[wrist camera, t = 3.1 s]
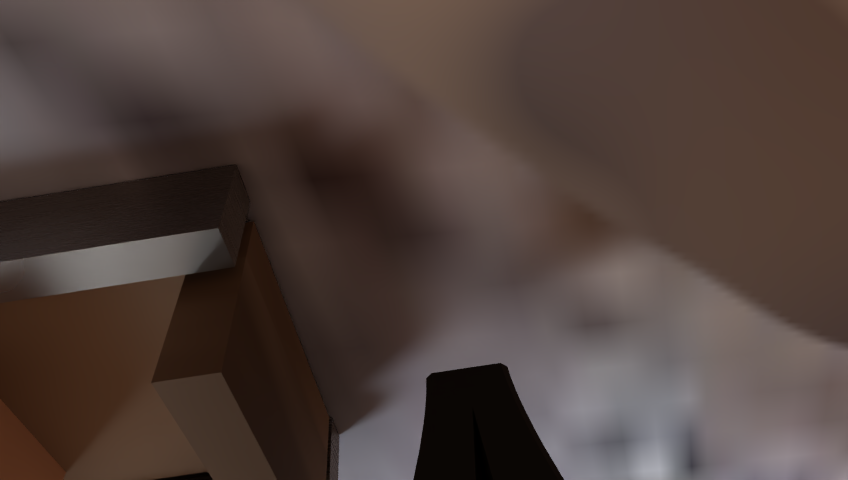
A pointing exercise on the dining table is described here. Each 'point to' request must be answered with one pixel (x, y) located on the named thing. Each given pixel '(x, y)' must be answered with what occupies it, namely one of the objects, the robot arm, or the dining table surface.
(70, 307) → the brown boxy piece
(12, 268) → the lane rails
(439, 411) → the robot arm
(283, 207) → the dining table surface
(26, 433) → the block
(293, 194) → the dining table surface
